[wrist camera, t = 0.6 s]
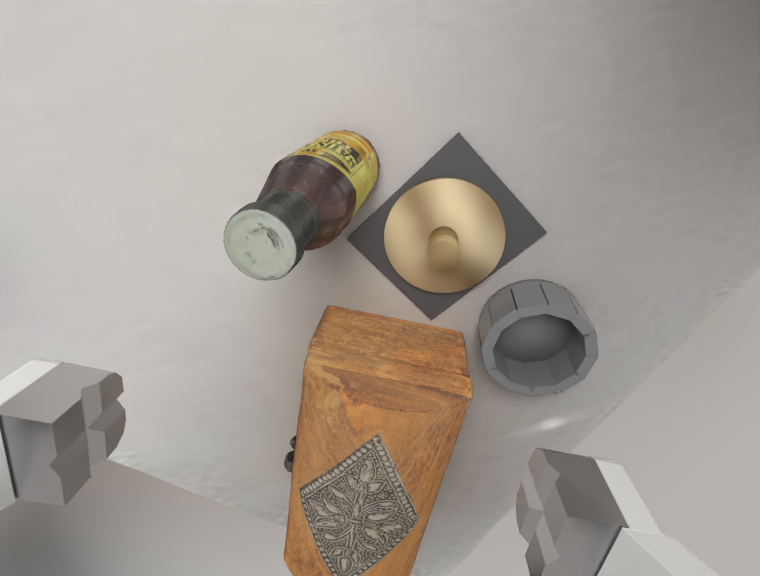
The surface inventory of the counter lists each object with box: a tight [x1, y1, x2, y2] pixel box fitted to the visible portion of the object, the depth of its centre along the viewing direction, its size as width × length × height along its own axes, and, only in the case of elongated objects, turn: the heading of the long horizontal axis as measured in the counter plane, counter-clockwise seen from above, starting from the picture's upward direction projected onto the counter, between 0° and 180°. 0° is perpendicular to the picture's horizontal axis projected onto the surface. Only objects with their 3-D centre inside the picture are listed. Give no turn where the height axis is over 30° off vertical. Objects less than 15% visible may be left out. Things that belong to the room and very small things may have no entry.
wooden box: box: [284, 306, 473, 576], centre depth 48 cm, size 30×16×14 cm, turn 170°
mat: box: [348, 133, 547, 320], centre depth 42 cm, size 14×12×1 cm
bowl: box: [478, 280, 598, 396], centre depth 43 cm, size 10×10×5 cm
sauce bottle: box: [224, 130, 379, 280], centre depth 31 cm, size 6×6×20 cm
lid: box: [384, 177, 506, 293], centre depth 39 cm, size 11×11×5 cm
